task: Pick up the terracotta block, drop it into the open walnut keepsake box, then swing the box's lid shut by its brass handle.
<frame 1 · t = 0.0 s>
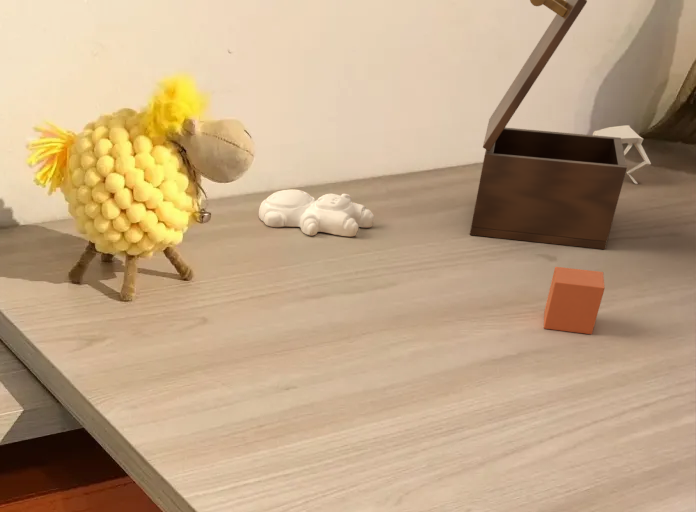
block: (567, 323, 90), on the table
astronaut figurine: (313, 225, 110), on the table
chest: (537, 224, 111), on the table
lid: (517, 55, 102), point 16 cm above the table, hinge at 65.0°
origami figure: (610, 177, 127), on the table
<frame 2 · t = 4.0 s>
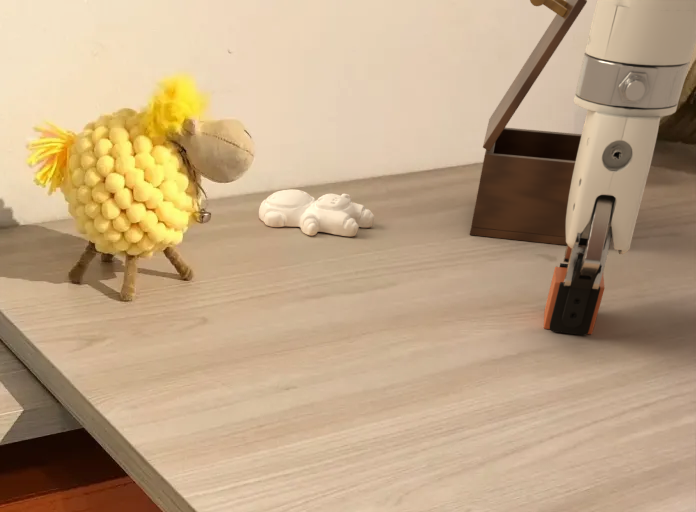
hand: (568, 319, 89), 0 cm above the table, tool pointing down, fingers closed on block, 4 cm apart
block: (567, 323, 90), on the table, touching gripper
everything else where it was.
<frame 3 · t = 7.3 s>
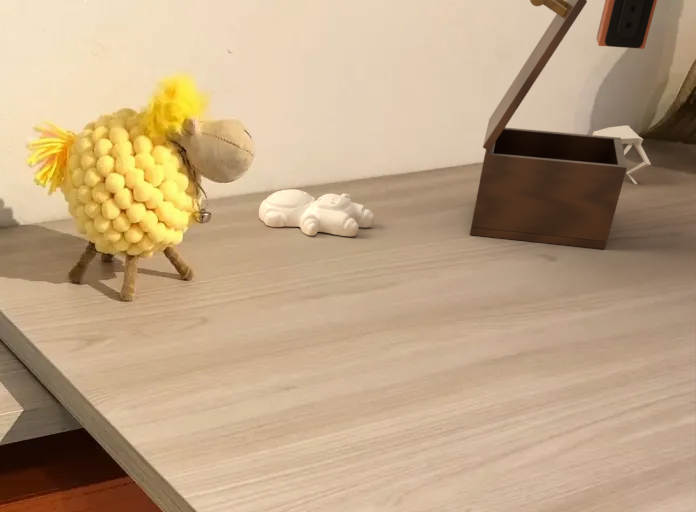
hand: (621, 39, 94), 18 cm above the table, tool pointing down, fingers closed on block, 4 cm apart
block: (619, 43, 94), point 18 cm above the table, touching gripper
everything else where it was.
when the fingers open (6 cm above the table, at t = 10.8 s): block drops 5 cm, resting on chest.
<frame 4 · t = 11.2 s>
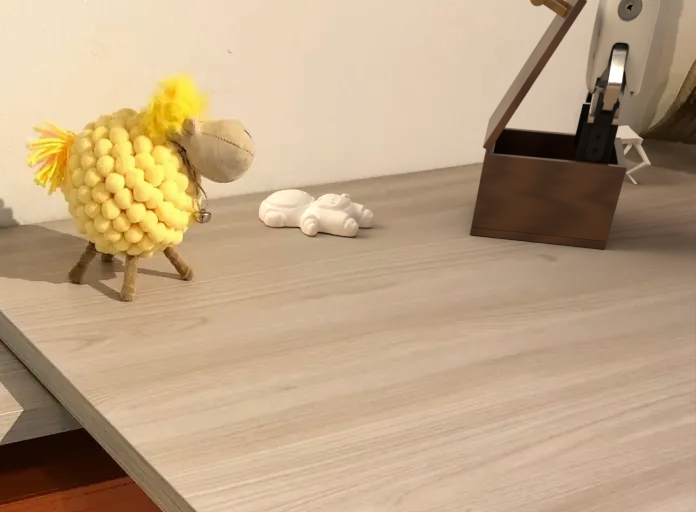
hand: (589, 156, 106), 7 cm above the table, tool pointing down, fingers open, 8 cm apart
block: (572, 220, 110), point 1 cm above the table, touching chest
everything else where it was.
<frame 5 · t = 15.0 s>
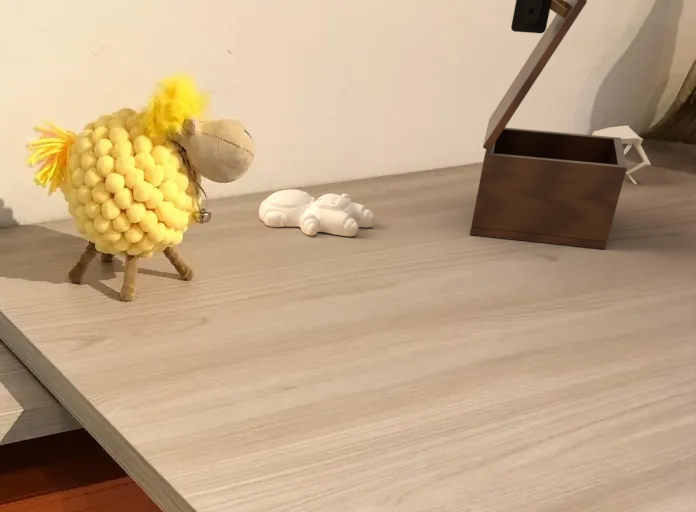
hand: (528, 24, 100), 18 cm above the table, tool pointing down, fingers closed on lid, 6 cm apart
lid: (517, 55, 102), point 16 cm above the table, hinge at 65.0°, touching gripper
everything else where it was.
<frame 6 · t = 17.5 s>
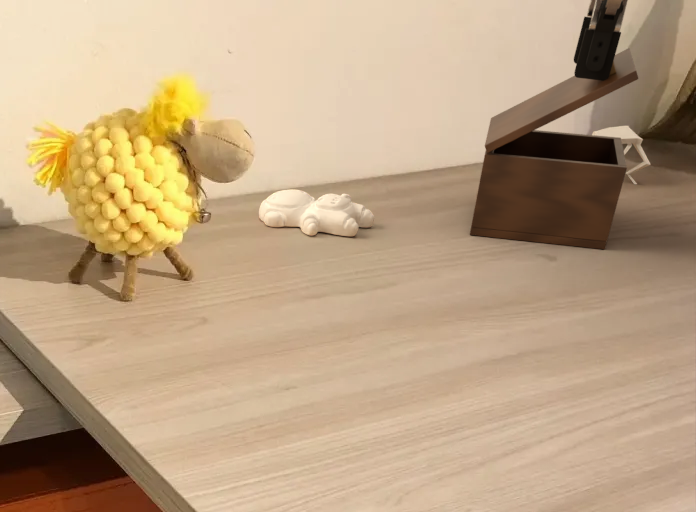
hand: (590, 69, 101), 15 cm above the table, tool pointing down, fingers closed on lid, 6 cm apart
lid: (552, 81, 103), point 14 cm above the table, hinge at 31.1°, touching gripper
everything else where it was.
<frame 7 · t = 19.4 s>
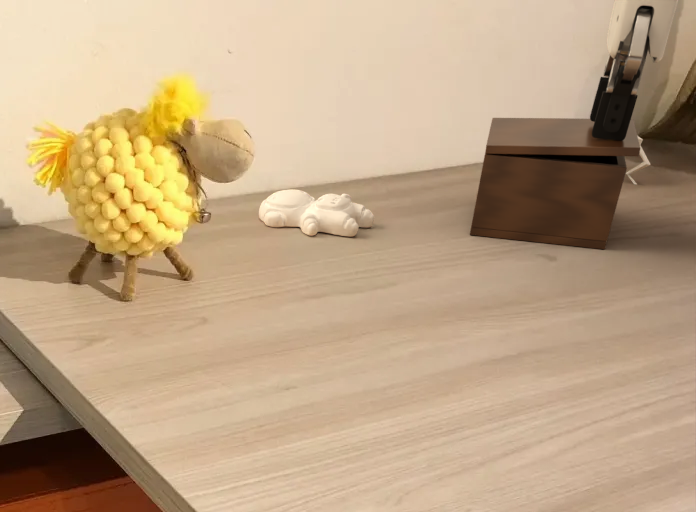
hand: (606, 128, 104), 10 cm above the table, tool pointing down, fingers closed on lid, 6 cm apart
lid: (564, 115, 104), point 11 cm above the table, hinge at 4.0°, touching gripper
everything else where it was.
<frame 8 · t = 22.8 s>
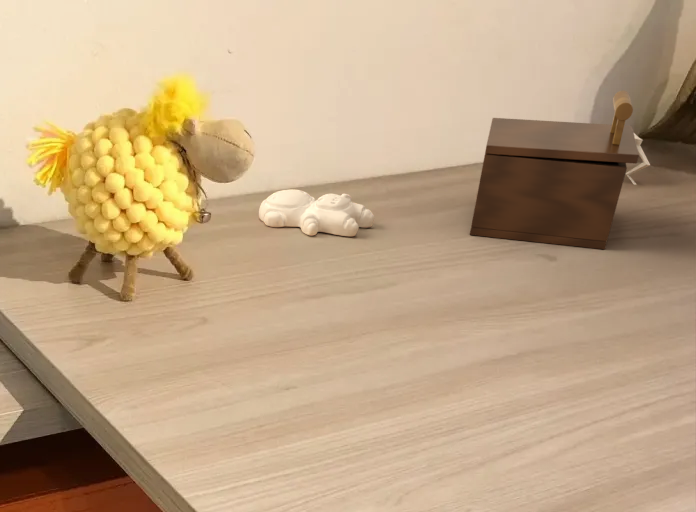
lid: (564, 118, 104), point 10 cm above the table, hinge at 1.5°
everything else where it was.
at the end: block inside the target area in the chest (3.5 cm from its centre), point 0.8 cm above the chest's base; lid at +2° (first picture: +65°) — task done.
